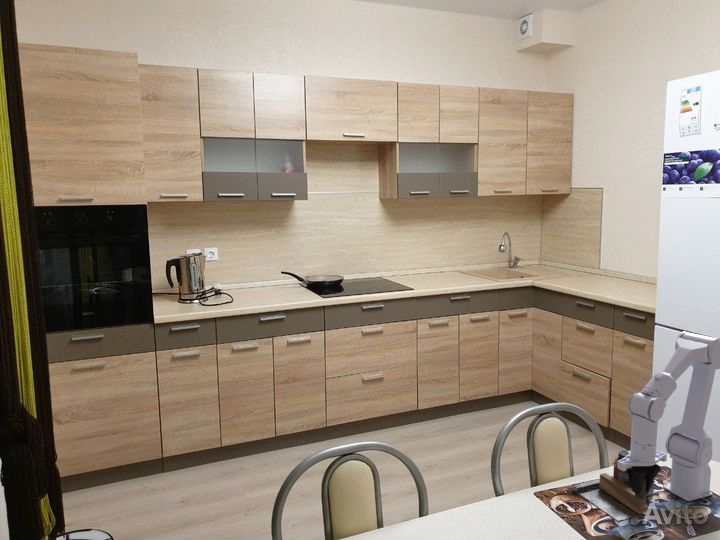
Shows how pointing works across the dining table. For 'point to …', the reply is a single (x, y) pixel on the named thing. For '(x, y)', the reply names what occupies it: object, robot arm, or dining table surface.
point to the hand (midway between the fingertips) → (640, 491)
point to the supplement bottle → (619, 473)
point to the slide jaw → (624, 492)
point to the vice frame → (607, 500)
